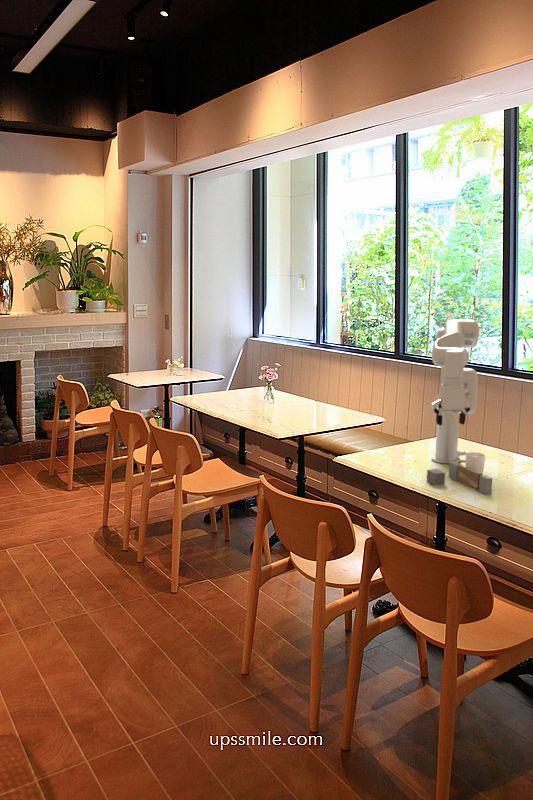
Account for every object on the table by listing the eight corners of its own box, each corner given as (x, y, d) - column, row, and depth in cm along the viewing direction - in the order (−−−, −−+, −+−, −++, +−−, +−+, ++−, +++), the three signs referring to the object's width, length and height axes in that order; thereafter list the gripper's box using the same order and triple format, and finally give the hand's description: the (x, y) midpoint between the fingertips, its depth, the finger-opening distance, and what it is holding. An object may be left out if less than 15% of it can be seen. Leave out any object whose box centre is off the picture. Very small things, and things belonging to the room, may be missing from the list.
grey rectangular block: (436, 480, 309) (436, 468, 308) (444, 484, 304) (445, 472, 303) (426, 481, 308) (427, 469, 307) (434, 485, 302) (435, 473, 301)
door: (461, 480, 309) (462, 465, 308) (482, 490, 296) (483, 474, 295) (458, 480, 308) (459, 465, 307) (478, 490, 296) (479, 474, 294)
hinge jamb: (483, 490, 296) (485, 474, 295) (491, 494, 292) (492, 478, 290) (478, 491, 295) (479, 475, 294) (486, 494, 291) (487, 478, 290)
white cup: (461, 475, 317) (463, 452, 315) (479, 474, 318) (481, 452, 316) (468, 480, 309) (469, 457, 307) (486, 480, 310) (488, 457, 308)
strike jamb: (453, 476, 315) (454, 461, 313) (460, 480, 310) (461, 464, 309) (448, 477, 314) (449, 462, 312) (455, 480, 309) (456, 465, 308)
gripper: (468, 379, 299) (465, 421, 302) (428, 380, 296) (426, 423, 299) (477, 382, 292) (475, 425, 295) (437, 383, 288) (434, 427, 291)
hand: (450, 424), depth 297 cm, fingers open, 9 cm apart
